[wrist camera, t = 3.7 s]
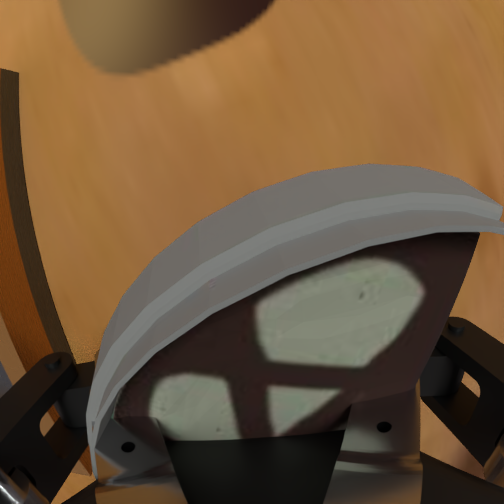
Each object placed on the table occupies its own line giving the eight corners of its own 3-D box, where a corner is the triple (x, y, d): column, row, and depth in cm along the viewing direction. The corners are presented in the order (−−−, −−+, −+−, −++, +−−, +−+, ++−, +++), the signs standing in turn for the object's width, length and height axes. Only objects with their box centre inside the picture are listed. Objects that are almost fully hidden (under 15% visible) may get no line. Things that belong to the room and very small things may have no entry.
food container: (188, 126, 12) (43, 69, 2) (338, 159, 13) (537, 197, 3) (155, 378, 16) (105, 549, 6) (270, 397, 16) (289, 571, 7)
